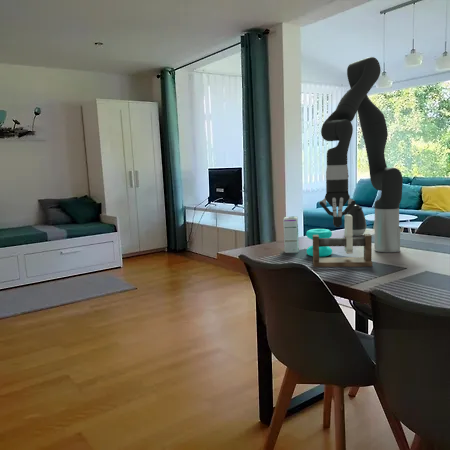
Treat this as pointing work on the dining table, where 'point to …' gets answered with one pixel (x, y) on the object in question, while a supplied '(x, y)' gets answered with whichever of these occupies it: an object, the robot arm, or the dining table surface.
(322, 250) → the donuts
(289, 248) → the syrup box
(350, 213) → the dark grey egg shape
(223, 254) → the dining table surface
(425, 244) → the dining table surface
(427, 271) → the dining table surface
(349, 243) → the white tall bar
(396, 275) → the dining table surface
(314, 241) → the pipe stand
